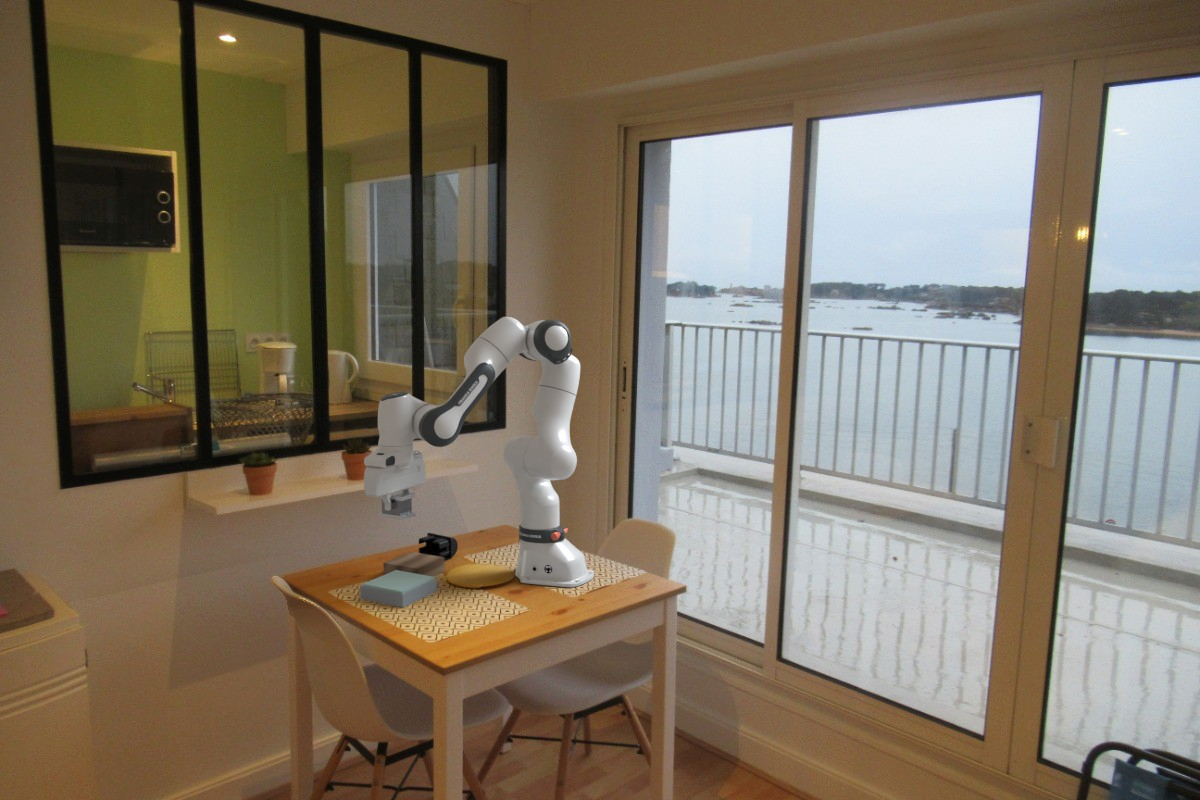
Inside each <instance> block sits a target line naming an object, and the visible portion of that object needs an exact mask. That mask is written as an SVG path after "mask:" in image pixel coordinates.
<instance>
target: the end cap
mask: <svg viewBox="0 0 1200 800" xmlns="http://www.w3.org/2000/svg"><path fill="white" fill-rule="evenodd" d="M426 535H427V536H424V537H420V538H418V545H420V544H424V543H425V545H423V546H421V547H418V553H421V554H427V555H433V556H439V557H444V562H447V561H449V560H452V558H453V557H454V556H455V555H456V553H457V552H458V549H459V548H458V546H459V544H458V541H457V539H456V538H454V537H451V536H446V535H443V534H436V533H433V532H427V534H426Z"/></svg>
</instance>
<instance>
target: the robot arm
mask: <svg viewBox="0 0 1200 800" xmlns="http://www.w3.org/2000/svg"><path fill="white" fill-rule="evenodd" d="M517 356H520V357H522V358H524V359H526V360H528V361H537V362H538V361H540V364H541V376H540V377H541V378H540V380H539V383H538V386H537V390H536V393H535V398H534V402H533V404H532V408H531V414H532V417H533V418H534V420H535V423H536V436H533V435H529V434H528V435H519V436H515V437H512V438H510V439H509V440H508V441H507V443H506V445H505V446H504V450H503V458H504V462H505V464H506V465H507V466H508V468H509V469H510V471H511V474H512V476H513V478H514V482H515V486H516V488H517V494H518V496H519V514H520V517H519V519H520V523H519V525H518V540H519V541H518V542H519V552H518V558H517V559H518V560H517V566H516V570H515V573H514V575H515V577H517V578H518V579H519V581H520V583H522V584H529V585H530V584H532V585H542V586H551V587H559V588H560V587H562V588H563V587H564V588H574V587H579V586H582V585H584V584H586V583H588V582H590V581H591V580H592V579H593V578H594V577H595V571H594V570H592V569H588V568H587V563H586V557H585V555H584V553H583V552H582V551H581V550H579V549H578V548H577V547H576V546H575V545H574V544H573V543H572V542H570V541H569V540H568V539H567V538H566V535H565V533H568V529H569V528H568V527H566V528H564V529H563V527H562V524H561V522H560V519H561V517H560V516H561V515H560V511H561V510H560V497H559V494H558V493H557V492H556V490H555V489H554V487H553V485H552V482H551V481H560V480H562V481H563V480H566V479H568V478H570V477H571V476H572V475H573V474H574V472H575V470H576V467H577V463H578V458H577V453H576V452H575V451H576V450H575V449H574V448H573V446H572V440H571V434H570V432H571V431H570V428H571V427H570V426H571V419H572V414H573V410H574V406H575V403H576V398H577V394H578V389H579V385H580V384H579V383H580V377H581V362H580V361H579V359H578V358H577V357H576V356H574V355H573V346H572V335H571V331H570V329H569V328H568V327H567V325H566V324H565V323H564V322H561V321H560V320H557V319H551V318H549V319H541V320H537V321H534V322H531V323H527V324H525V325H523V324H522V323H521V322H520V321H519V320H518V319H516V318H514V317H511V316H502V317H500V318H499V319H498V320H497V321H495V322H493V324H491V325H489V327H488V328H487V329H485V330H484V331H483V332H482V333H481V334H480V335H479V336H478V337H477V338H476V339H475V341H473V343H471V345H470V346H469V347H468V349H467V351H466V352H465V354H464V357H463V366H464V369H465V373H466V374H465V378H464V379H463V381H462V382H461V384H460V385H459V386H458V387H457V388H456V390H455V391H454V392H453V393H452V395H450V397H449V398H448V399H447V400H446V401H445V402H444V403H442V404H440V405H437V404H433V403H430V402H426V401H425V400H424V401H423V400H421V399H419V398H417V397H415V396H413V395H411V394H410V393H409V392H406V391H398V392H392V393H388V394H386V395H384V396H382V397H381V399H380V400H379V403H378V409H377V430H378V433H379V438H378V444H377V445H378V446H377V448H376V449H374V451H373V452H371V453H369V455H366V456H365V457H364V460H363V463H364V466H365V467H366V468H365V469H364V474H363V488H364V489H363V490H364V494H365V495H366V496H367V497H371V498H378V497H379V496H381V498H380V499H381V501H382V500H383V502H384V503H385V510H388V511H389V510H392V509H394V507H393V506H394V503H391V501H390V498H389V497H391V493H394V492H397V491H401V492H409V493H413V488H415V487H417V486H421V485H424V484H425V483H426V480H427V472H426V464H425V461H424V455H423V454H422V452H421V451H419V450H414V440H415V439H420V440H422V441H425V442H426V443H428V444H429V445H431V446H433V447H436V448H437V447H438V448H443V447H447V446H450V445H451V444H452V443H454V442H455V441H456V440H457V438H458V437H459V435H460V432H461V430H462V428H463V425H464V423H465V420H466V419H467V417H468V416H469V414H470V413H471V412H472V411H473V409H474V408H475V407H476V405H478V403H479V402H480V400H481V399H482V398H483V396H485V394H486V392H487V391H488V390H489V388H491V386H492V385H493V383H494V382H495V380H496V379H497V378H498V377H499V376H500V375H501V374H502V372H504V370H505V369H506V368H508V366H509V365H510V364H511V363H512V361H513V360H514V359H515V358H517Z"/></svg>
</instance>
